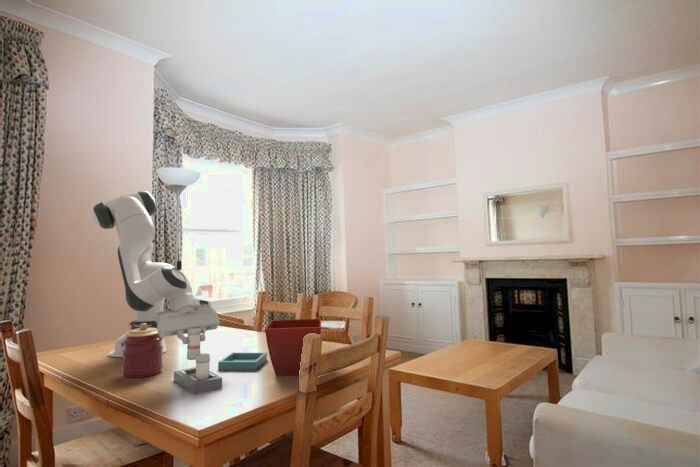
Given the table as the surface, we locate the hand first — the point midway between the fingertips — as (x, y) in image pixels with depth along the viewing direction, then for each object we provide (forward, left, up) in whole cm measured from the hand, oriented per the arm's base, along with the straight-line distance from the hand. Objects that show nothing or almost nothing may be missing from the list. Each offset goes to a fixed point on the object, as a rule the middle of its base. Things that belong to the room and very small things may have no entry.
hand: (194, 341), depth 133 cm
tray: (+10, +19, -13) cm, 25 cm away
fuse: (+6, -6, -13) cm, 15 cm away
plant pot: (+31, +13, -13) cm, 36 cm away
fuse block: (+2, -3, -13) cm, 13 cm away
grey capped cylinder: (-1, +1, -6) cm, 6 cm away
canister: (-23, +8, -13) cm, 27 cm away
